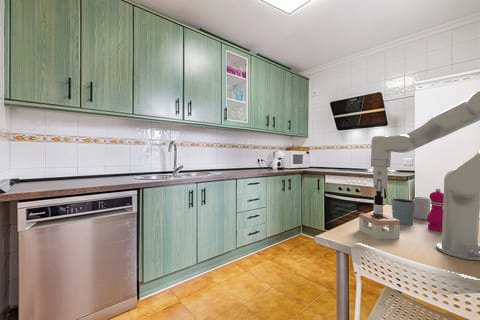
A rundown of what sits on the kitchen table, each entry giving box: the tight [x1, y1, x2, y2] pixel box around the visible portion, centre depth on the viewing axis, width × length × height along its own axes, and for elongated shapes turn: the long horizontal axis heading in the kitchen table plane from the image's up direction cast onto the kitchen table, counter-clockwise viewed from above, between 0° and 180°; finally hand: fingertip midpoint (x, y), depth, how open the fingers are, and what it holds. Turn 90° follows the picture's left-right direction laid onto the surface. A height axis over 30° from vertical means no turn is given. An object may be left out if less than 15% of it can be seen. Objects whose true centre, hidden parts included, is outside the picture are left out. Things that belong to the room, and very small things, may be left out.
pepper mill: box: [426, 188, 444, 233], centre depth 106 cm, size 7×7×20 cm
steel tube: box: [372, 188, 385, 219], centre depth 99 cm, size 4×4×16 cm
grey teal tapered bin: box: [391, 198, 415, 226], centre depth 116 cm, size 10×10×12 cm
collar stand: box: [358, 212, 401, 240], centre depth 99 cm, size 11×11×8 cm
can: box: [412, 196, 431, 221], centre depth 123 cm, size 8×8×12 cm
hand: (378, 203), depth 99 cm, fingers closed on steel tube, 3 cm apart
